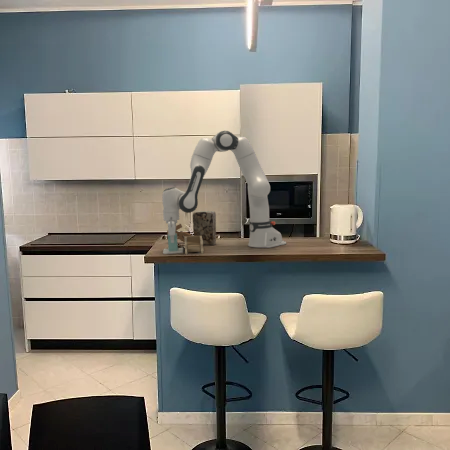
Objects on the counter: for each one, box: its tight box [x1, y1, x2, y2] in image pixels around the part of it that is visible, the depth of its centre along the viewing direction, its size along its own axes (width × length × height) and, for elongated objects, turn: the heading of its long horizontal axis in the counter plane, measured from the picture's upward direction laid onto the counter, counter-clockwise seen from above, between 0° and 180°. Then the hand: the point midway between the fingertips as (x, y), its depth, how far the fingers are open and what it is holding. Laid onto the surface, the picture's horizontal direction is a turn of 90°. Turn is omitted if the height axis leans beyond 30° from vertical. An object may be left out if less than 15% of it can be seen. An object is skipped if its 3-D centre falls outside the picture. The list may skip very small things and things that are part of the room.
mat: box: [162, 247, 184, 255], centre depth 269 cm, size 11×11×1 cm
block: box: [167, 233, 179, 251], centre depth 269 cm, size 5×5×9 cm
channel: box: [183, 235, 204, 255], centre depth 268 cm, size 18×10×7 cm, turn 5°
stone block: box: [192, 210, 217, 246], centre depth 286 cm, size 13×7×20 cm, turn 77°
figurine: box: [166, 223, 193, 243], centre depth 294 cm, size 13×2×15 cm
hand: (172, 241), depth 268 cm, fingers open, 8 cm apart
